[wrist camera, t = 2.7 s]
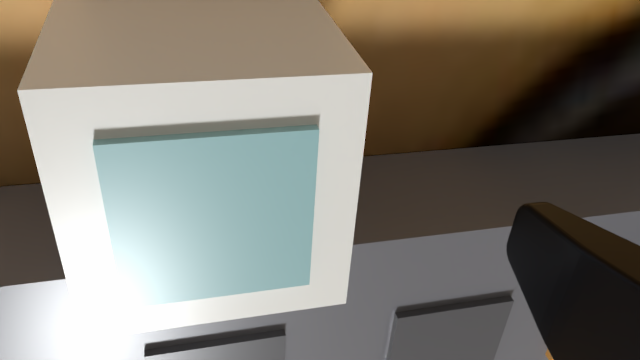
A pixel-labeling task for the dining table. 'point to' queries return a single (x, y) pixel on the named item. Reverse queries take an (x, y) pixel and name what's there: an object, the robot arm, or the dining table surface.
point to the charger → (197, 157)
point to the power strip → (361, 263)
